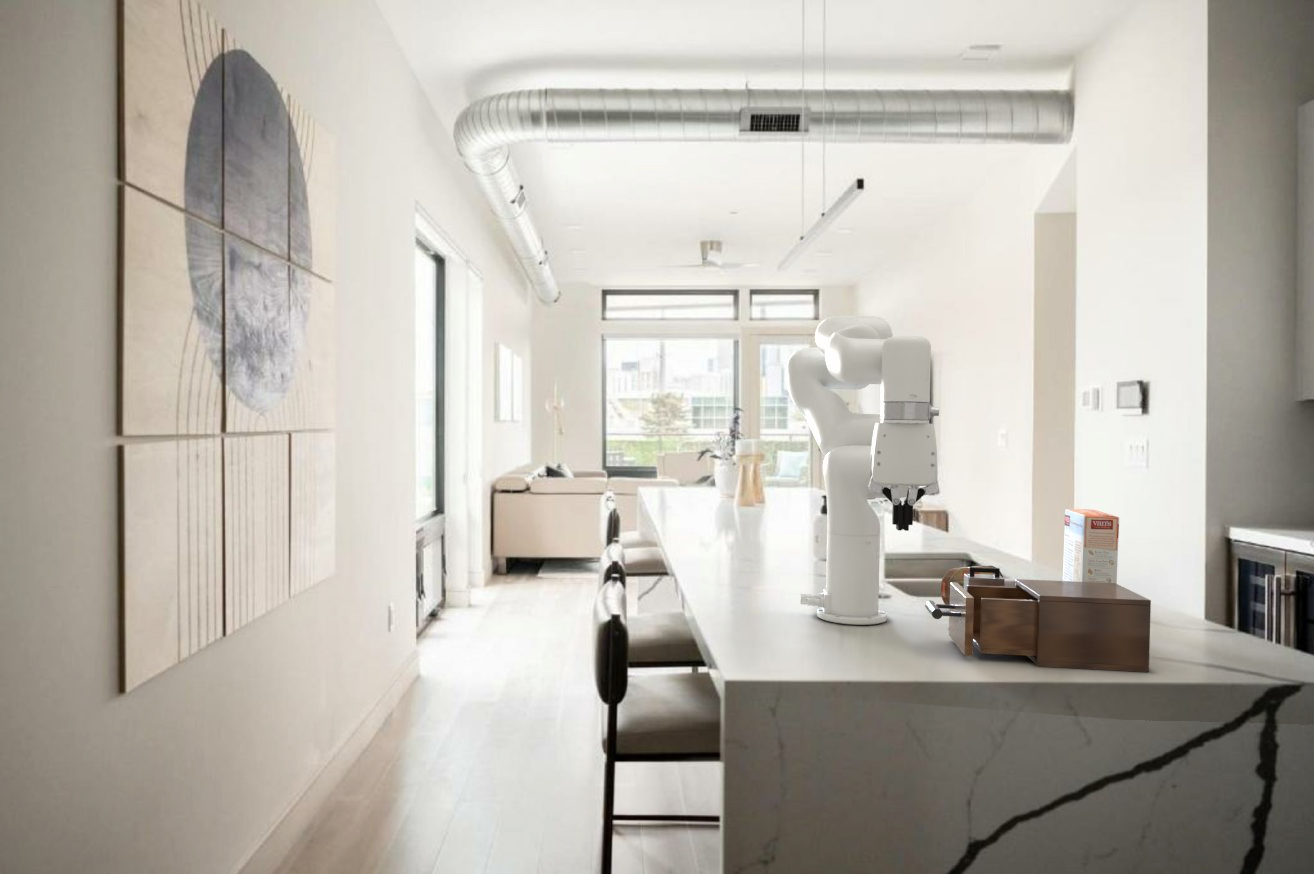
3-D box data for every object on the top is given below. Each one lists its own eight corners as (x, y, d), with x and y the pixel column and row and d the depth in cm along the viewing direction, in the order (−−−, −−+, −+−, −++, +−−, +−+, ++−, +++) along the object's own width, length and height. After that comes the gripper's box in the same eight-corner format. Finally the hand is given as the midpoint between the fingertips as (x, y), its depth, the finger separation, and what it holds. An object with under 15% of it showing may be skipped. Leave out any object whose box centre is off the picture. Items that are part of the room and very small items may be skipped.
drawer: (934, 653, 139) (935, 596, 139) (921, 633, 153) (922, 581, 152) (1065, 660, 137) (1066, 601, 137) (1040, 639, 150) (1041, 586, 150)
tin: (949, 613, 174) (950, 569, 174) (937, 610, 177) (938, 567, 177) (1005, 607, 181) (1006, 565, 181) (993, 604, 184) (994, 562, 183)
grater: (967, 632, 159) (968, 568, 158) (962, 627, 163) (964, 565, 162) (1003, 633, 158) (1004, 570, 158) (997, 628, 162) (999, 566, 162)
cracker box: (1117, 639, 155) (1121, 516, 155) (1079, 637, 156) (1082, 514, 156) (1095, 622, 169) (1098, 508, 168) (1060, 620, 170) (1063, 507, 170)
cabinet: (1037, 666, 137) (1039, 595, 136) (1013, 643, 151) (1015, 579, 151) (1149, 672, 135) (1151, 600, 134) (1113, 648, 149) (1115, 583, 149)
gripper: (949, 415, 149) (946, 528, 149) (855, 413, 151) (852, 525, 151) (957, 414, 141) (955, 534, 141) (858, 413, 143) (856, 530, 143)
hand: (902, 529), depth 146 cm, fingers closed
